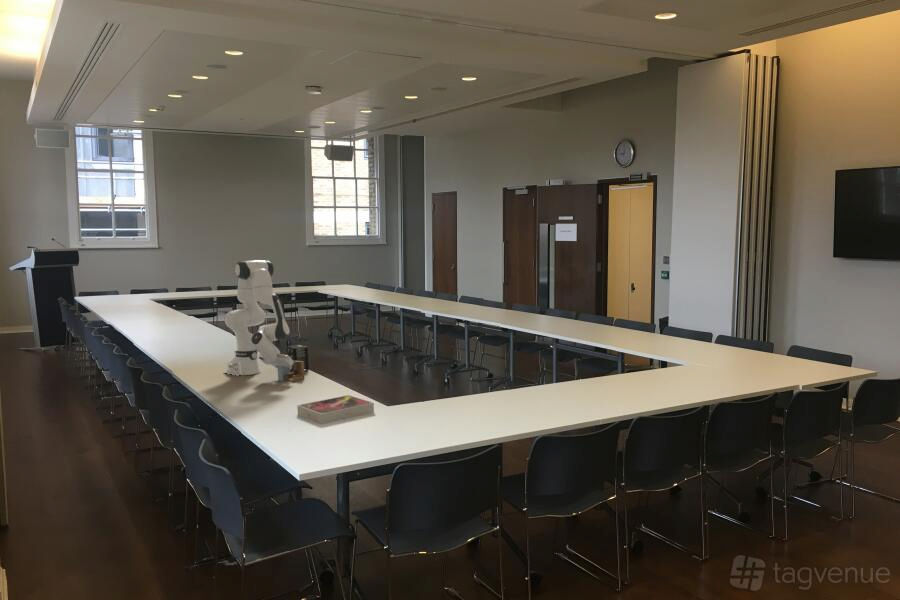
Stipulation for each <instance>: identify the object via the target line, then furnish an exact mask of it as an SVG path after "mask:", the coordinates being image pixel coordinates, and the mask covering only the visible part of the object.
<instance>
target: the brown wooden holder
mask: <svg viewBox="0 0 900 600" xmlns="http://www.w3.org/2000/svg"><path fill="white" fill-rule="evenodd" d="M293 367H294V371H292V372H290V373H289V374H286V375H285V380H287V381H286V382H292V381H295V382H298V381H301V380H304V379H305V371H304V361H294V363H293ZM303 378H304V379H303ZM300 379H301V380H300ZM285 380H284V381H285ZM297 380H298V381H297Z"/></svg>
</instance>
